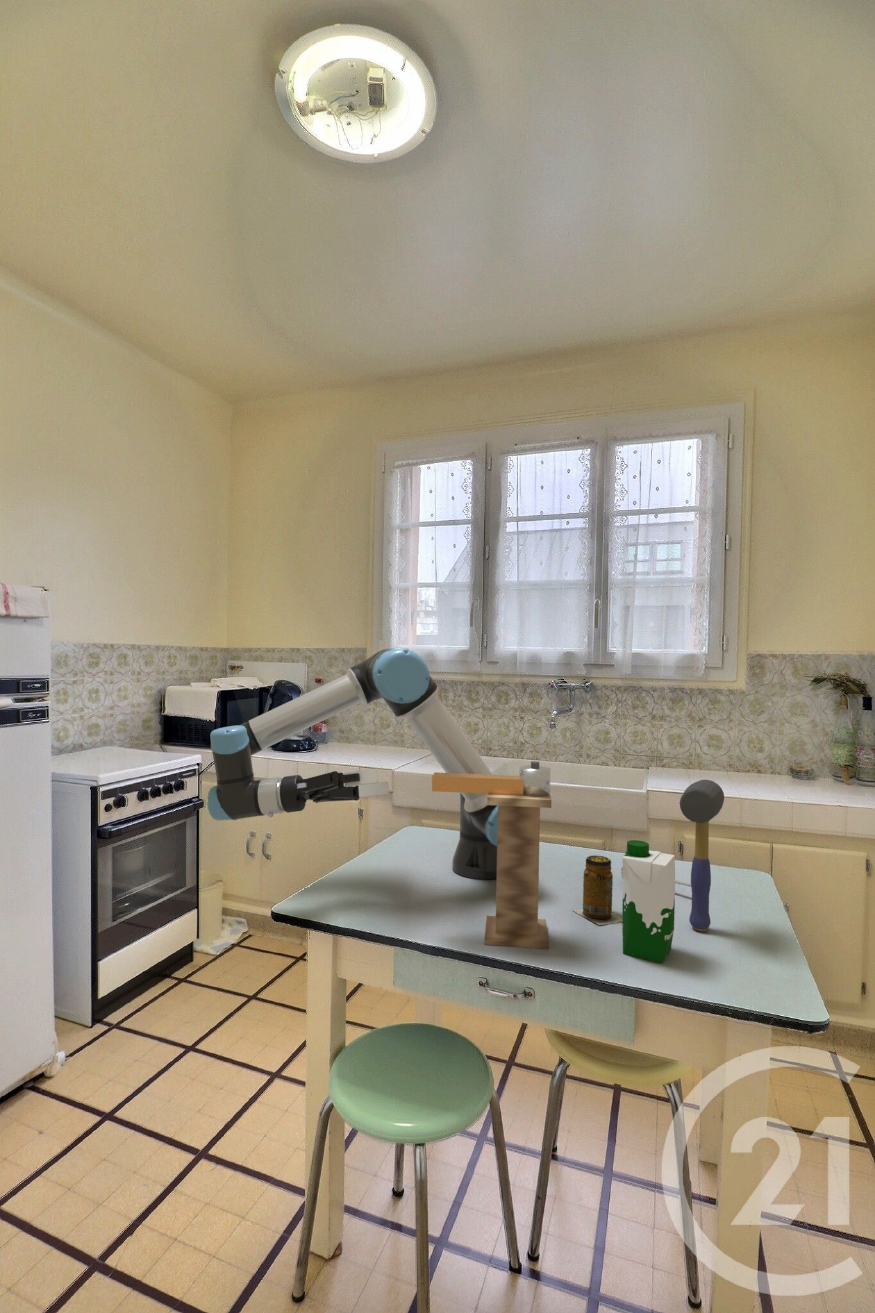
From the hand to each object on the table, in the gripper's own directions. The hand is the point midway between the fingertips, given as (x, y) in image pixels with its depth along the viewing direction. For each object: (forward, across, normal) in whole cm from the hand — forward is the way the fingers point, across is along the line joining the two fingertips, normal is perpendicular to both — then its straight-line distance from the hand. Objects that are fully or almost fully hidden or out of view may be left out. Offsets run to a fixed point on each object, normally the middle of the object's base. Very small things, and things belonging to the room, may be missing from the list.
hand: (383, 782), depth 136 cm
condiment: (+41, -17, -31) cm, 54 cm away
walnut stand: (+23, -5, -32) cm, 40 cm away
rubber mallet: (+60, -13, -36) cm, 71 cm away
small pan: (+58, -34, -27) cm, 73 cm away
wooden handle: (+21, +5, -6) cm, 22 cm away
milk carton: (+47, -2, -38) cm, 60 cm away
